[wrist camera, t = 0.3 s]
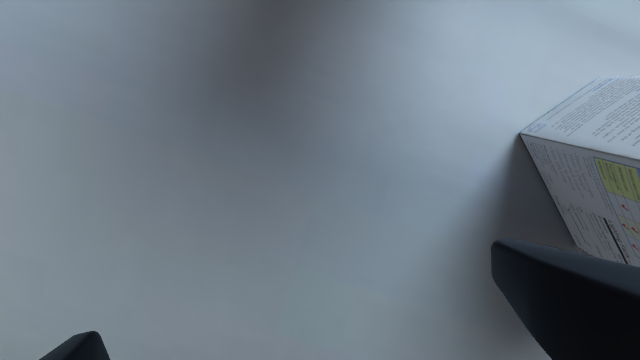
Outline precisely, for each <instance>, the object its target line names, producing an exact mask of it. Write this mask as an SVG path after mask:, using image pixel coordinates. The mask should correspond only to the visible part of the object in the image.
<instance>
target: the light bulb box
mask: <svg viewBox="0 0 640 360" xmlns="http://www.w3.org/2000/svg"><path fill="white" fill-rule="evenodd" d="M520 135H521V137H522V139H523V141H524V143H525V145H526V147H527V149H528V151H529V153H530V155H531V157H532V159H533V161H534V163H535V165H536V167H537V169H538V171H539V173H540V174H541V176H542V178H543V180H544V182H545V184H546V186H547V188H548V190H549V192H550V194H551V196H552V198H553V200H554V202H555V204H556V206H557V208H558V210H559V212H560V214H561V216H562V218H563V220H564V222H565V224H566V226H567V228H568V229H569V231H570V233H571V235H572V237H573V239H574V241H575V243H576V245H577V247H579V248H581V249H582V250H584V251H586V252H588V253H590V254H591V255H593V256H595V257H597V258H602V259H606V260H611V261H615V262H620V263H624V264H629V265H633V266H637V267H640V76H627V77H599V78H598V79H596V80H595V81H593V82H592V83H590V84H589V85H587V86H586V87H584V88H583V89H581V90H580V91H579V92H577V93H576V94H574V95H573V96H571V97H570V98H568V99H567V100H566V101H564V102H563V103H561V104H560V105H558V106H557V107H556V108H554V109H553V110H551V111H550V112H548V113H547V114H545V115H544V116H543V117H541V118H540V119H538V120H537V121H535V122H534V123H533V124H531V125H530V126H528V127H527V128H525V129H524V130H523V131H521V132H520Z"/></svg>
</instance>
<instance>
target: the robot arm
mask: <svg viewBox="0 0 640 360" xmlns="http://www.w3.org/2000/svg"><path fill="white" fill-rule="evenodd" d="M491 272H492V277H493V280H494V282H495V283H496V285H497V286H498V288H499V289H500V291H501V292H502V293H503V295H504V296H505V298H506V299H507V301H508V302H509V304H510V305H511V306H512V308H513V309H514V311H515V312H516V314H517V315H518V317H519V318H520V319H521V321H522V322H523V324H524V325H525V327H526V328H527V329H528V331H529V332H530V333H531V335H532V336H533V337H534V339H535V340H536V341H537V342H538V343H539V345H540V346H541V347H542V348H543V349H544V351H545V352H546V353H547V354H548V355H549V356H550V358H551V359H552V360H640V267H637V266H633V265H629V264H624V263H620V262H615V261H611V260H606V259H602V258H597V257H593V256H588V255H584V254H580V253H575V252H571V251H566V250H562V249H557V248H553V247H548V246H544V245H539V244H535V243H531V242H526V241H522V240H517V239H513V238H506V239H502V240H497V241H494V242H493V243H492V245H491ZM39 360H110V358H109V355H108V353H107V350H106V348H105V346H104V343H103V341H102V338H101V336H100V334H99V333H98V332H96V331H90V332H85V333H81V334H77V335H74V336H72V337H71V338H70V339H68V340H67V341H65V342H64V343H62V344H61V345H59V346H58V347H57V348H55V349H54V350H52V351H51V352H49V353H48V354H47V355H45V356H44V357H42V358H41V359H39Z"/></svg>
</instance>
